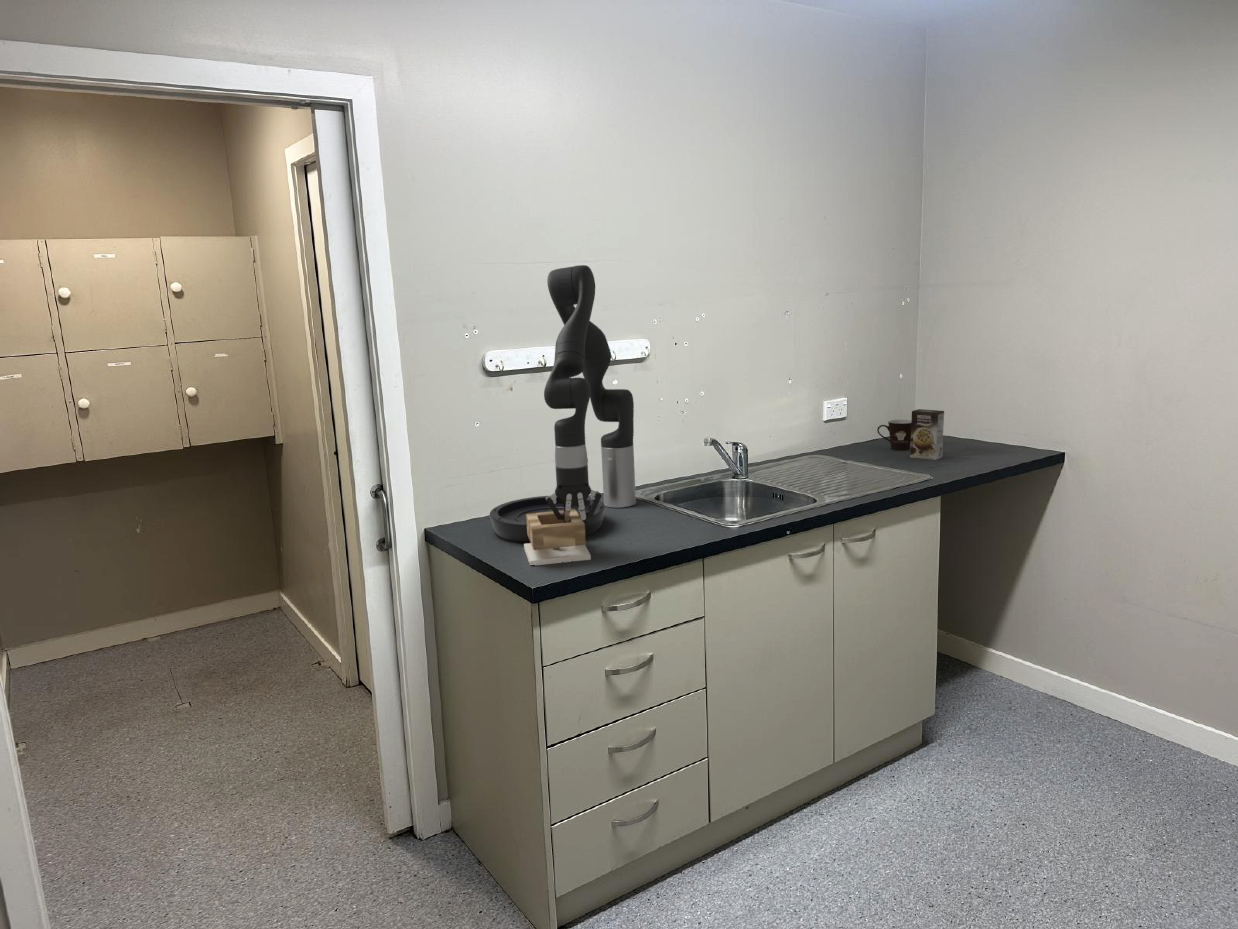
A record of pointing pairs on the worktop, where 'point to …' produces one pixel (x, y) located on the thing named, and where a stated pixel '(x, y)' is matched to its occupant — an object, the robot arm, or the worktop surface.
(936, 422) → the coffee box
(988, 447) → the worktop surface
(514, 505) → the round tray
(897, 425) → the coffee mug
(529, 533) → the frame
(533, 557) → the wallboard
